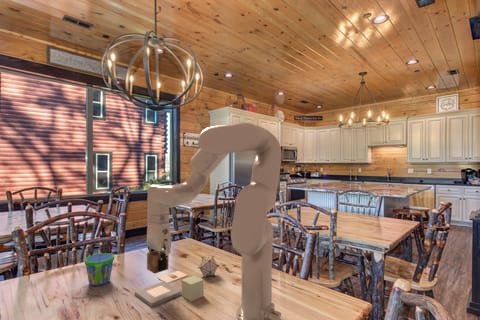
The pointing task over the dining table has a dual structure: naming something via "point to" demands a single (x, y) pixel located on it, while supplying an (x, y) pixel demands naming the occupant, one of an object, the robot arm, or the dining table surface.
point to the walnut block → (154, 261)
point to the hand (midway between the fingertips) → (157, 267)
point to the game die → (208, 266)
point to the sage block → (192, 288)
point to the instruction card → (172, 276)
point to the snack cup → (99, 268)
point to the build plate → (158, 293)
